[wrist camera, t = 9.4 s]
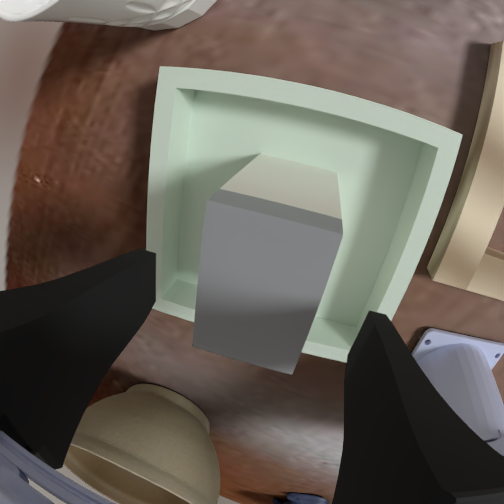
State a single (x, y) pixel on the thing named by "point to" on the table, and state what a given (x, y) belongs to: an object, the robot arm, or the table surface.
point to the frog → (302, 499)
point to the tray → (304, 151)
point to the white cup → (108, 12)
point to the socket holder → (478, 199)
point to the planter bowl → (146, 449)
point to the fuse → (266, 261)
